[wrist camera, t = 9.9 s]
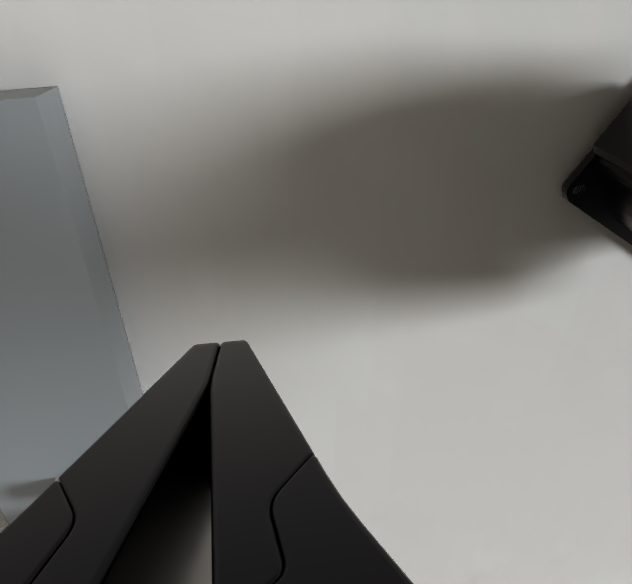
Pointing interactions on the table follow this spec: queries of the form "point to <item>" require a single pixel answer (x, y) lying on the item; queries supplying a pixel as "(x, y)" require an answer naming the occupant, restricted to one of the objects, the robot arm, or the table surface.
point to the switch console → (52, 306)
